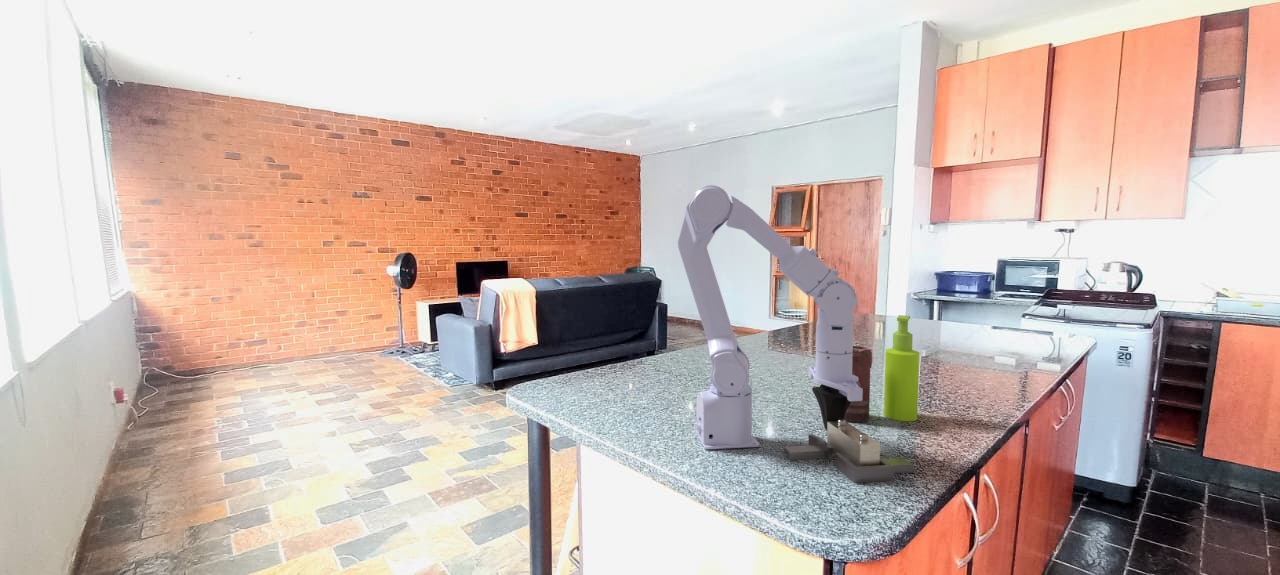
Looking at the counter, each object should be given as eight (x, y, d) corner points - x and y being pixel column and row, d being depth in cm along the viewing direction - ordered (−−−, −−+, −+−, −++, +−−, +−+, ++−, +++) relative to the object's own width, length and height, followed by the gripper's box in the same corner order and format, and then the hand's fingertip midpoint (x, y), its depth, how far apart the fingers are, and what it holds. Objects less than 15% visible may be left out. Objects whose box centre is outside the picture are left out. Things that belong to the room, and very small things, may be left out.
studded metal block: (859, 478, 72) (860, 439, 72) (826, 450, 82) (827, 416, 82) (879, 477, 73) (880, 438, 72) (844, 449, 82) (844, 415, 82)
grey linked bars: (813, 485, 70) (814, 471, 70) (777, 447, 84) (777, 435, 84) (922, 478, 72) (922, 465, 72) (869, 442, 86) (869, 430, 85)
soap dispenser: (918, 413, 100) (921, 315, 99) (916, 423, 94) (919, 319, 93) (886, 408, 103) (888, 313, 102) (882, 418, 97) (884, 317, 96)
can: (874, 424, 94) (876, 351, 93) (838, 422, 95) (840, 350, 94) (866, 413, 100) (867, 345, 99) (833, 412, 101) (834, 344, 100)
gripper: (882, 359, 75) (880, 446, 77) (835, 342, 90) (834, 415, 91) (838, 361, 75) (836, 448, 76) (798, 343, 89) (797, 416, 90)
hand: (832, 430), depth 83 cm, fingers closed
